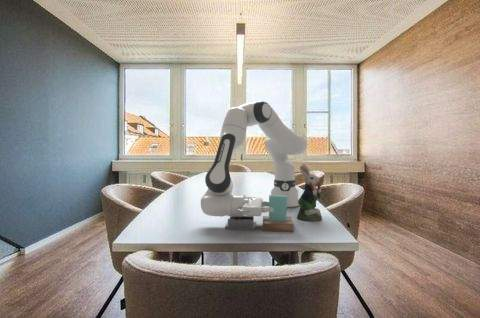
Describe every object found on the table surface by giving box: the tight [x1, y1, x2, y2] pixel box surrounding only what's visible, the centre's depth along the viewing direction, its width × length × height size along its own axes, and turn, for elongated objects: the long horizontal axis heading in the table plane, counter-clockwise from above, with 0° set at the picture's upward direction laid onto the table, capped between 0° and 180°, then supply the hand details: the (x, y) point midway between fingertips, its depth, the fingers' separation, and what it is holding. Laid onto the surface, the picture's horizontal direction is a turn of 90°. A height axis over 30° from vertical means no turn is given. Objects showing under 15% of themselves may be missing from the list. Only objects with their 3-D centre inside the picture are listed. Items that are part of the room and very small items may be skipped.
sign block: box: [268, 194, 288, 221], centre depth 129 cm, size 3×7×10 cm, turn 85°
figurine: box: [296, 163, 323, 222], centre depth 143 cm, size 11×13×25 cm
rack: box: [224, 215, 257, 231], centre depth 130 cm, size 10×12×4 cm
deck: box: [261, 215, 294, 233], centre depth 129 cm, size 12×12×3 cm
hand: (273, 206), depth 129 cm, fingers open, 8 cm apart
